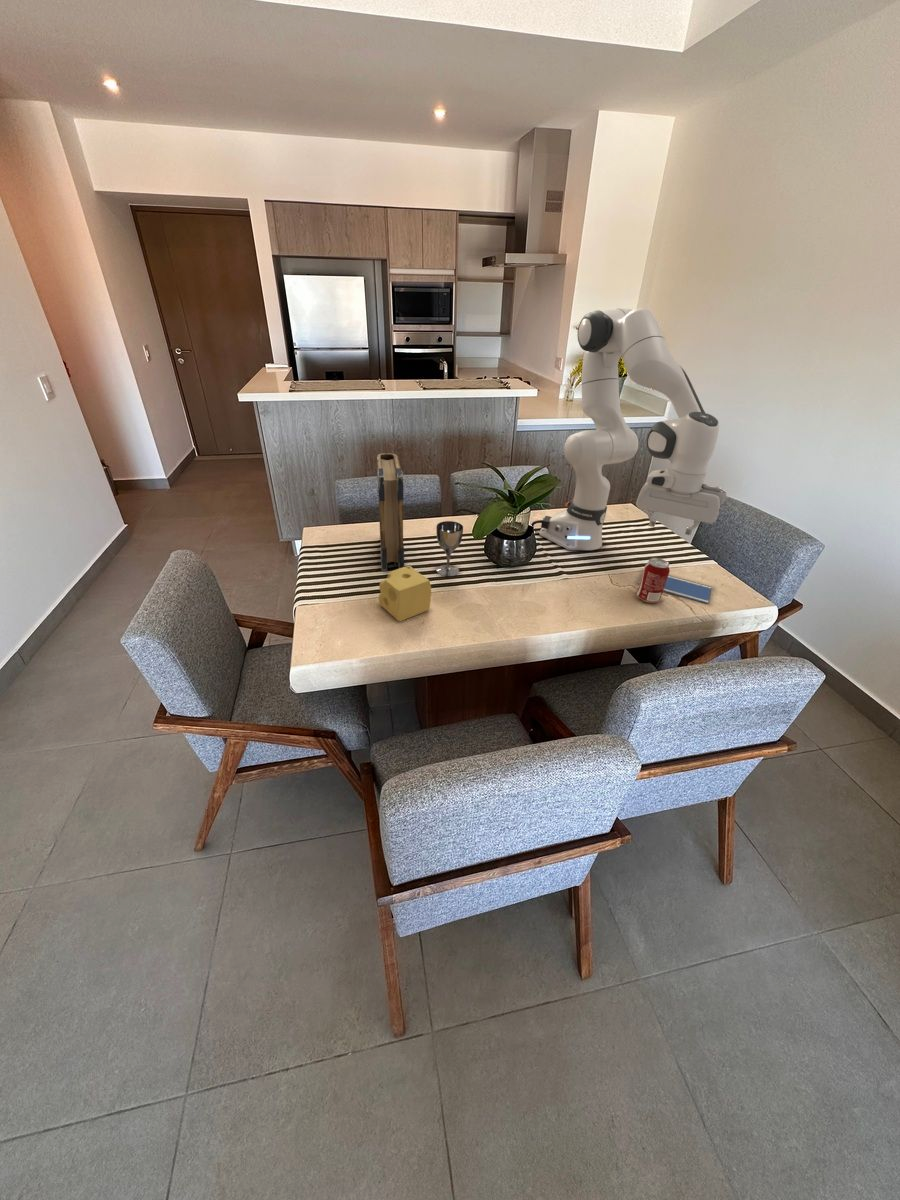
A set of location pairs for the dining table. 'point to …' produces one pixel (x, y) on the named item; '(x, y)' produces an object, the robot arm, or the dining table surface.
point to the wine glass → (449, 544)
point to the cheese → (405, 593)
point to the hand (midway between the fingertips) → (669, 530)
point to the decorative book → (390, 509)
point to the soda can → (653, 580)
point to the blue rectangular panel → (687, 589)
